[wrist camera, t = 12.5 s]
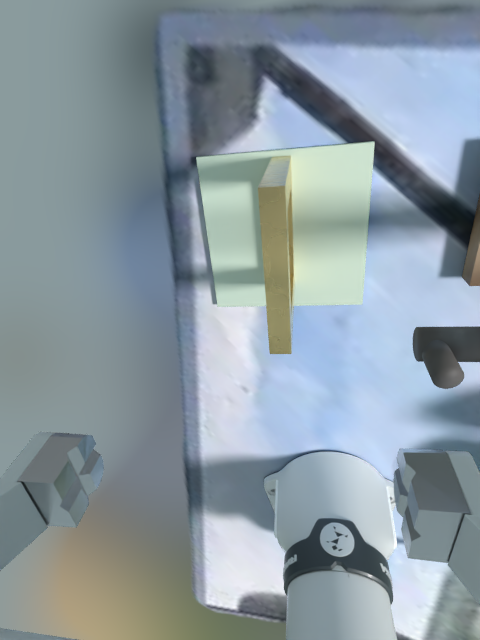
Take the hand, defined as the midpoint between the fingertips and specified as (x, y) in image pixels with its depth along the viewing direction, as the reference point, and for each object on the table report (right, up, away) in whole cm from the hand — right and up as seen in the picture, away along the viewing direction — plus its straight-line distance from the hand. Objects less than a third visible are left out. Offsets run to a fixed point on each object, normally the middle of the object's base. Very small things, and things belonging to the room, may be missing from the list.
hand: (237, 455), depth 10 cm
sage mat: (+4, +12, +26) cm, 29 cm away
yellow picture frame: (+4, +12, +25) cm, 28 cm away
